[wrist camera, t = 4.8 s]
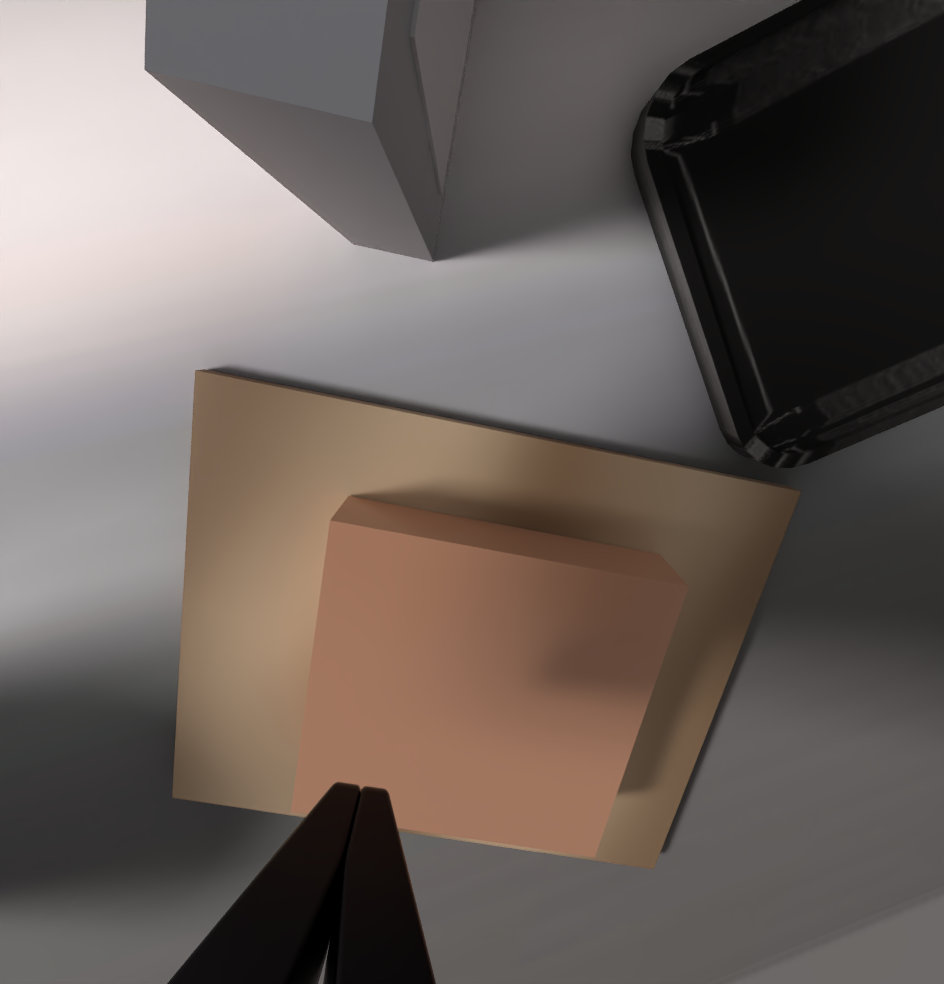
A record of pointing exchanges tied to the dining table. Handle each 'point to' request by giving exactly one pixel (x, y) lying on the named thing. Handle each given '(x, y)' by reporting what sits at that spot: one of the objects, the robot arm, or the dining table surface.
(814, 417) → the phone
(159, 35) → the gray box
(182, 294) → the dining table surface
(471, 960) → the dining table surface
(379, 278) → the dining table surface
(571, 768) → the terracotta tile
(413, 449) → the cork mat
